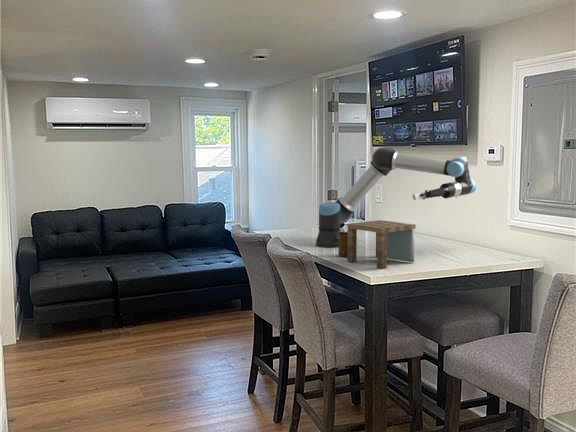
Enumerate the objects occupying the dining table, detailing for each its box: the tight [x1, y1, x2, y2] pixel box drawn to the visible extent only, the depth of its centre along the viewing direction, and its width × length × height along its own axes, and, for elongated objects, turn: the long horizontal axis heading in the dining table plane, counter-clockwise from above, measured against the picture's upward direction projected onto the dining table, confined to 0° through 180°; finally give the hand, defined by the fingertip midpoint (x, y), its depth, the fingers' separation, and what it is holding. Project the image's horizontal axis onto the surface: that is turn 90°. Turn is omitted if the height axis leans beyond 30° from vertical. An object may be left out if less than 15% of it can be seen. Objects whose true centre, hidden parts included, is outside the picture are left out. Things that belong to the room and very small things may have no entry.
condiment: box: [334, 231, 348, 258], centre depth 274 cm, size 7×8×12 cm
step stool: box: [346, 219, 417, 270], centre depth 257 cm, size 22×22×18 cm
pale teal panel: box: [387, 229, 416, 263], centre depth 260 cm, size 2×15×15 cm, turn 46°
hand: (414, 197), depth 270 cm, fingers closed
